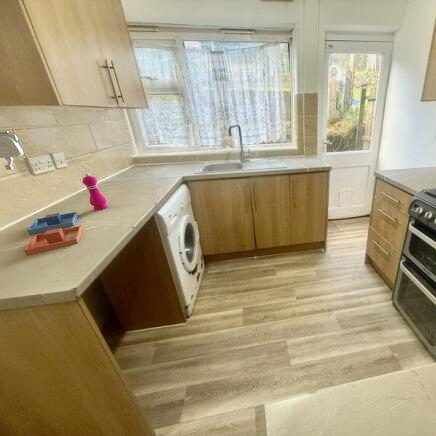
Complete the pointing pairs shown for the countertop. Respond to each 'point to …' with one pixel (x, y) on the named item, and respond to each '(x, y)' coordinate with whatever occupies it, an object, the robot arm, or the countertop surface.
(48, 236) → the terracotta block
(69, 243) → the orange tray
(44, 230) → the blue tray
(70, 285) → the countertop surface
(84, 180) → the pepper mill
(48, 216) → the blue block
